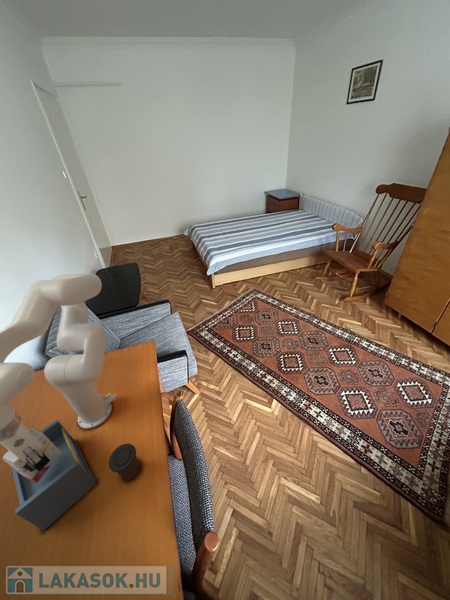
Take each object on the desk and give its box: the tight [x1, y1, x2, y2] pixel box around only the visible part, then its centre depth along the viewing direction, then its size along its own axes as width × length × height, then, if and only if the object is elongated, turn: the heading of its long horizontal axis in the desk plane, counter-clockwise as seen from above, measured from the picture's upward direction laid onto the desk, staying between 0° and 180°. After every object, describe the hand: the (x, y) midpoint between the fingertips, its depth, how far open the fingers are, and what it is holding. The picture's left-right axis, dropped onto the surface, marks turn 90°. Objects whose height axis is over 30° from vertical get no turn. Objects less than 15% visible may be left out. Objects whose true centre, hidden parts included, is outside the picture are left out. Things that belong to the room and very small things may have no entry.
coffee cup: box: [108, 443, 141, 481], centre depth 76 cm, size 8×8×10 cm
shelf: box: [11, 419, 97, 531], centre depth 74 cm, size 15×20×14 cm
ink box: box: [2, 427, 61, 482], centre depth 69 cm, size 9×5×12 cm, turn 162°
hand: (38, 459), depth 70 cm, fingers closed on ink box, 5 cm apart
